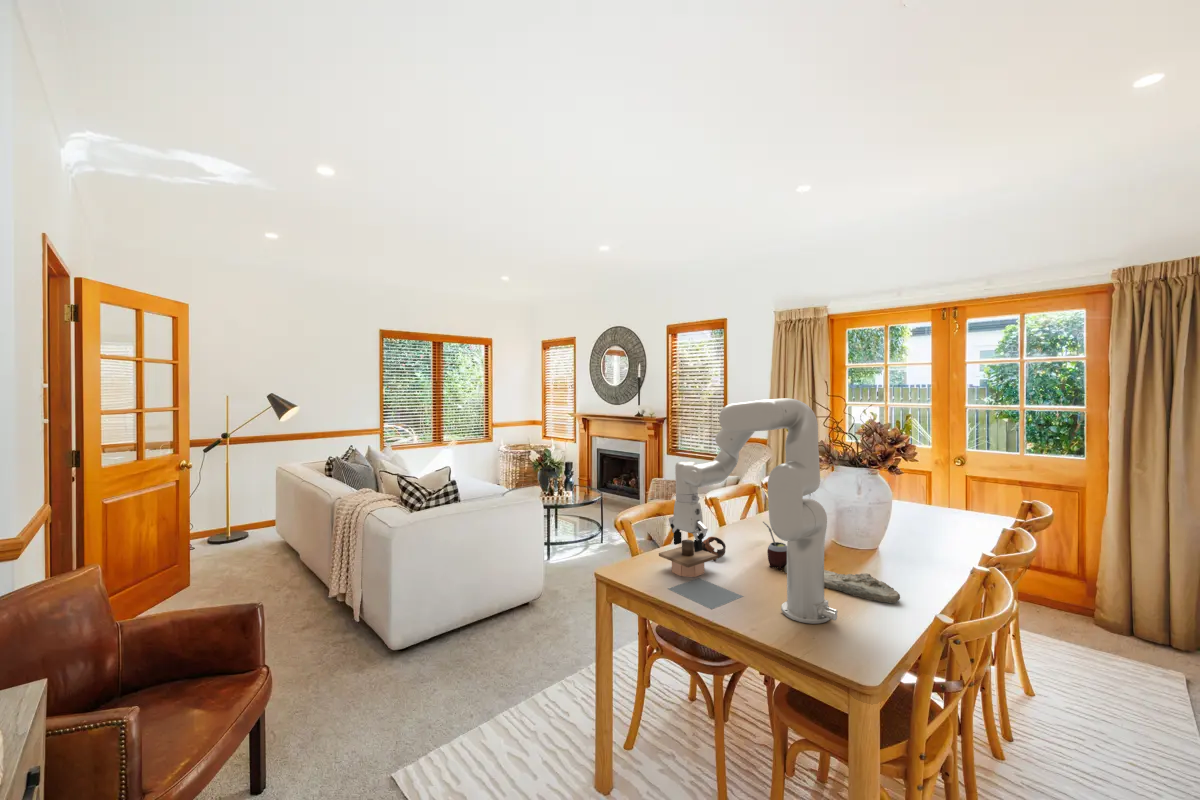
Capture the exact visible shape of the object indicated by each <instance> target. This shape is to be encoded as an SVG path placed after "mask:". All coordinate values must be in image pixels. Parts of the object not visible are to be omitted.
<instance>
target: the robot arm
mask: <svg viewBox="0 0 1200 800" xmlns="http://www.w3.org/2000/svg"><path fill="white" fill-rule="evenodd" d="M816 416H817V415H816V413H815V412H814V410H813V409H812V408H811V407H810V406H809V405H808V404H806V403H805V402H804V401H801V400H799V399H795V398H789V397H788V398H787V397H786V398H783V397H782V398H781V397H780V398H770V399H768V398H767V399H760V400H759V399H758V400H753V401H744V402H734V403H729V404H727V405H725V406H724V407H723V408H722V409H721V411H720V413H719V416H718V422H719V425H720V427H721V429H720V430H719V431H718V432H717V434H716V436H715V439H714V440H715V443H716V445H717V447H718V448H719V449H720V451H719V453H718V454H717V455H716V457H715V458H714V459H713V460H712V461H708V462H707V461H706V462H701V463H697V462H696V461H693V460H680V461H677V462H676V463H675V466H674V467H675V468H674V469H675V472H674V474H675V500H674V504H673V505H674V506H673V515H672V516H671V517H669V518H668V522H669V526H670V529H671V531H672V533H673V545H675V546H676V545H680V544H682V532H686V533H689V534H692V535H693V537H694V540H693V541H694V551H695V552H699V551H702V542H703V539H704V538H705V537H706V536H707V532H708V530H709V528H708V527H706V526H705V525H704V520H703V512H702V506H701V503H700V502H699V501H700V497H699V488H704V487H709V486H713V485H718V484H720V483H722V482H724V481H726V480H727V478H728V477H729V476H730V475H731V474H732V473H733V471H734V470H735V468H736V467H737V465H738V463H739V457H740V452H741V450H742V449H743V447H744V446H745V445H746V444H747V442H748V441H749V440H750V438H751V437H752V436H753V435H754V434H755V433H756V432H764V431H765V432H766V431H775V430H782V429H786V430H787V435H786V439H785V446H784V448H785V462H784V463H783V462H782V463H781V464H778V465H776V466H775V467H774V468H772V470H771V472H770V473H769V476H768V478H767V480H768V481H767V500H768V506H767V507H768V518H769V525H770V528H771V531H772V533H774V535H775V536H776V537H777V538H778V539H780V540H781V541H784V542H787V544H786V546H787V574H786V594H787V595H786V598H787V599H786V600H787V601H784V602H783V603H781V606H780V607H781V609H780V610H781V612H782V614H783V615H785V617H787V618H788V619H790V620H792V621H796V622H799V623H805V624H813V625H815V624H816V625H817V624H823V623H824V624H825V623H826V622H829V621H830V620H832V621H835V622H836V621H837V619H838V609H835V608H832V607H830V605H829V600H827V599H825V587H824V570H825V541H826V540H825V539H826V533H827V528H828V527H827V526H828V517H827V512H826V509H825V508H824V507H823V505H822V504H821V503H820V502H818V501H816V500H815V499H813V498H812V499H811V498H803V497H805V496H808V495H810V494H811V495H812V494H813V493H814V492H816V491H817V490H818V489H819V487H820V485H821V472H820V469H821V468H820V451H819V424H818V418H817V417H816ZM704 540H705V539H704Z"/></svg>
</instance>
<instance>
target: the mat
mask: <svg viewBox="0 0 1200 800" xmlns="http://www.w3.org/2000/svg"><path fill="white" fill-rule="evenodd" d="M667 590H669V591H671V592H674V593H676V594H678V595H679V596H682V597H684V598H686V599H688V600H691V601H692V602H695V603H697V604H699V605H702V606H703V607H705V608H708V609H709V610H713V609H716V608H719V607H721V606H723V605H726V604H729V603H731V602H734V601H736V600H738V599H741V598H743V597H744V596H743V595H742V594H739V593H737V592H735V591H732V590H730V589H727V588H724V587H723V586H720V585H717V584H716V583H715V584H714V583H712V582H710V581H707V580H706V579H702V578H701V577H698V578H695V579H692V580H689V581H685V582H684V583H680V584H677V585H675V586H674V585H673V586H671V587H669V588H667Z"/></svg>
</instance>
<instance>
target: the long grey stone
mask: <svg viewBox="0 0 1200 800" xmlns="http://www.w3.org/2000/svg"><path fill="white" fill-rule="evenodd" d="M783 569H784V574H786V573H787V564H786V565H785V567H784V568H783ZM824 588H827V589H829V588H830V589H831V590H835V591H840V592H843V593H845V594H847V595H850V596H855V597H859V598H862V599H864V600H868V601H871V602H873V601H876V602H881V603H888V604H895V603H897V602H898V601H900V599H901V595H900V593H899V592H898V591H897V590H895V589H894V588H893V587H891V586H890V585H889V584H887V583H886V582H884V581H882V580H878V579H876V578H875V577H874V576H872V575H871V574H870V573H859V574H858V573H854V574H852V573H849V574H848V573H847V574H845V573H844V574H842V573H837V572H834V571H830V570H827V569H824Z"/></svg>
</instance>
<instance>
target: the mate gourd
mask: <svg viewBox="0 0 1200 800" xmlns="http://www.w3.org/2000/svg"><path fill="white" fill-rule="evenodd" d="M762 523H763V524H764V525H765V526H766V527H767V529H768V532H770V536H771V539H772V542H771V543H770V544H769V545H768V546H767V560H768V564H769V565H768V567H778V568H779V569H778V568H777V569H778V571H780V570H782V571H783V568H781V567H785V565H786V564H787V544H785V543H784V542H779V541H775V539H774V535H773V531H772V528H771V526H769V524H767V523H766V522H765V521H762Z"/></svg>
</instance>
